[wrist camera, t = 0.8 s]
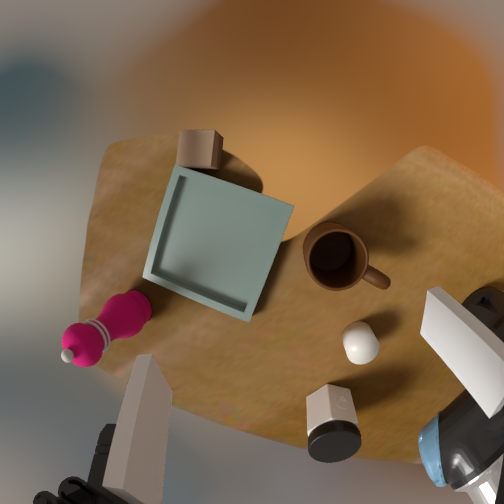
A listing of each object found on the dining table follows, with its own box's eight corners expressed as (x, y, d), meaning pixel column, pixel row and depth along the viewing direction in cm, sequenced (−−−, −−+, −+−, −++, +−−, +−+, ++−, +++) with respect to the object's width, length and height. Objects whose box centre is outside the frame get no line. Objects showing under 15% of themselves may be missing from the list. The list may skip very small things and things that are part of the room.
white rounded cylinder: (376, 326, 42) (385, 340, 37) (362, 352, 43) (369, 367, 38) (350, 317, 42) (356, 330, 37) (336, 343, 43) (340, 359, 38)
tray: (294, 205, 40) (294, 205, 38) (251, 316, 44) (248, 322, 41) (181, 166, 41) (174, 164, 39) (149, 273, 45) (142, 277, 43)
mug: (386, 249, 39) (409, 262, 30) (362, 293, 41) (379, 316, 32) (316, 212, 40) (324, 214, 31) (293, 259, 42) (293, 275, 32)
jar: (360, 389, 44) (374, 434, 32) (340, 420, 45) (347, 465, 34) (315, 379, 44) (320, 425, 33) (297, 411, 46) (296, 458, 34)
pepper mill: (129, 328, 48) (62, 384, 28) (114, 292, 47) (37, 335, 27) (160, 321, 46) (94, 382, 27) (144, 282, 46) (66, 327, 26)
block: (223, 137, 40) (214, 129, 35) (220, 170, 41) (210, 166, 36) (192, 137, 41) (179, 129, 36) (188, 168, 41) (175, 165, 37)
